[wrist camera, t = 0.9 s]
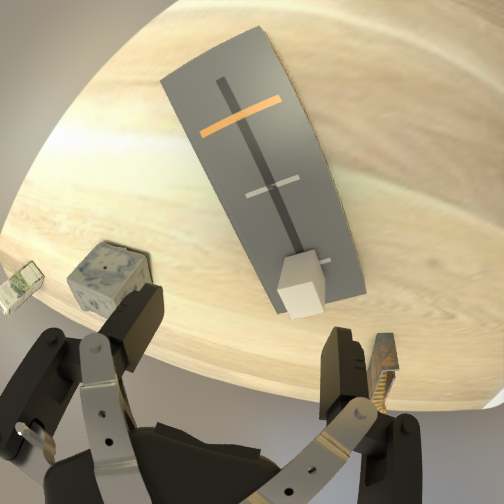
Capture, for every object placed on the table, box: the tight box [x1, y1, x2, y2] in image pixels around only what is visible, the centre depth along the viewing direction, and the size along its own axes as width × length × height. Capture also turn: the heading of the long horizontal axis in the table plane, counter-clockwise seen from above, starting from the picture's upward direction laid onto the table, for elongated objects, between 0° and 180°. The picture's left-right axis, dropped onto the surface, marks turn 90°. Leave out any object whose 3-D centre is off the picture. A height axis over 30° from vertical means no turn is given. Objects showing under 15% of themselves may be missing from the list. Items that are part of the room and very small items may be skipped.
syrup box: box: [0, 260, 44, 318], centre depth 47 cm, size 6×6×14 cm
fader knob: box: [277, 249, 325, 320], centre depth 29 cm, size 4×4×6 cm
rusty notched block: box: [367, 333, 399, 414], centre depth 37 cm, size 11×3×10 cm, turn 8°
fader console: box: [160, 26, 367, 314], centre depth 29 cm, size 32×12×3 cm, turn 25°
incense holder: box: [67, 242, 152, 319], centre depth 38 cm, size 10×8×10 cm
